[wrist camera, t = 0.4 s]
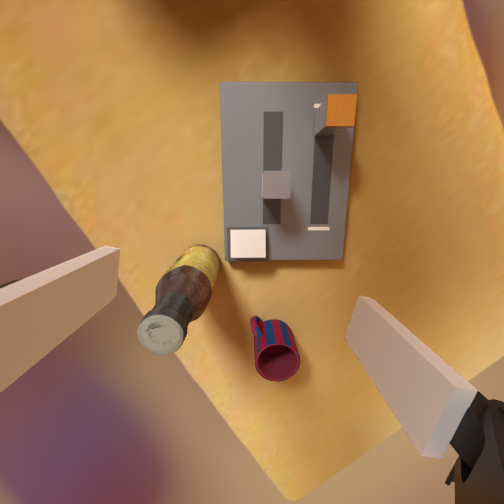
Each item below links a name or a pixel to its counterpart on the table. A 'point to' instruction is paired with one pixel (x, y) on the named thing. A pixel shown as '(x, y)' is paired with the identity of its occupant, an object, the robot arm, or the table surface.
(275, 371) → the mug
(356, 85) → the panel
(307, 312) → the table surface
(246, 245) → the block
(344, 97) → the block
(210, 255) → the sauce bottle
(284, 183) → the slider cream
